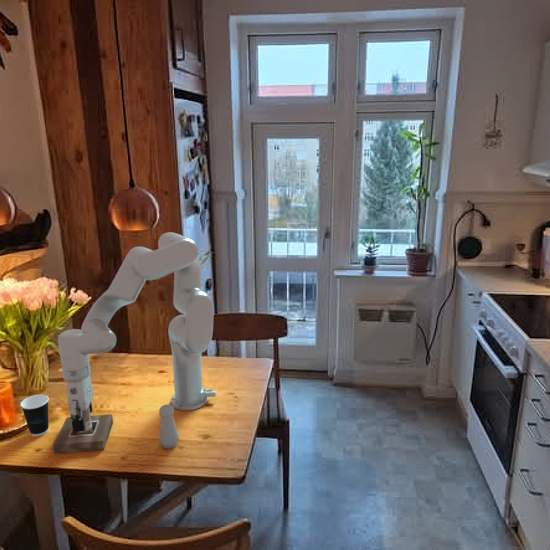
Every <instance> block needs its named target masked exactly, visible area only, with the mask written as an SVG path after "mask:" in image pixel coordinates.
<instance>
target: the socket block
mask: <svg viewBox="0 0 550 550" xmlns="http://www.w3.org/2000/svg"><path fill="white" fill-rule="evenodd" d="M91 421H92V430H93V434H87V435H78V432H74V431H73V428H72V421H71V416H68V417H66V418H65V421H64V422H63V425H62V426H61V428H60V430H59V432H58V434H57V436H56V438H55V440H54V442H53V444H52V448H53V454H54V455H59V454H61V455H62V454H72V453H73V454H74V453H85V452H86V453H87V452H98V451H105V448H106V445H107V443H108V439H109V436H110V433H111V431H112V427H113V424H114V419H113V414H112V413H111V414H110V413H109V414H100V415H99V414H97V415H91Z"/></svg>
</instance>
